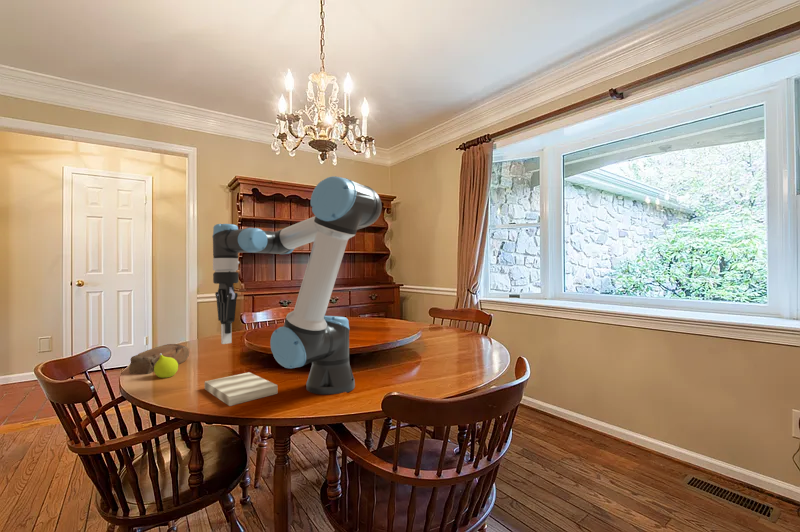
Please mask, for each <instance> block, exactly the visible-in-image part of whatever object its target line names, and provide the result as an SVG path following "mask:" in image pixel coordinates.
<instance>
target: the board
mask: <svg viewBox="0 0 800 532" xmlns="http://www.w3.org/2000/svg"><path fill="white" fill-rule="evenodd" d="M278 389H279V388H278V384H276V383H274V382H272V381H269V380H268V379H265V378H263V377H261V376H259V375H256V374H254V373H252V372H250V371H248V372H244V373H239V374H234V375H230V376H224V377H219V378H215V379H211V380H205V381H204V390H206V392H208V393H209V394H211V395H212V396H214V397H215V398H217V399H218V400H220V401H221V402H223V403H224V404H226V405H227V406H229V407H232V406H235V405H239V404H240V405H241V404H243V403H247V402H250V401H254V400H257V399H263V398H265V397H271V396H274V395H277V394H278Z"/></svg>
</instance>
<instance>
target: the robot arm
mask: <svg viewBox="0 0 800 532" xmlns="http://www.w3.org/2000/svg"><path fill="white" fill-rule="evenodd" d="M310 206H311V207H312V208H311V212H312V214H314V216H312V217H310V218H307V219H305V220H301V221H298V222H297V223H295V224H294V223H293V224H292V225H290V226H287V227H284V228H282V229H279V230H275V231H271V230H262V229H261V228H258V227H247V228H241V229H239V226H238V225H236V224H233V223H217V224H214V226H213V227H212V229H213V230H212V231H213V232H212V255H213V256H212V270H213V271H214V272H213V273H212V277H213V279H212V282H213V284H216V285H217V284H218V289H217V291H216V292H215V294H214V295H215V298H216V307H217V308H216V309H217V320H218V321H219V322H220V324H221V325H220V327H221V328H220V331H221V333H220V337H221V338H220V340H221V343H220V344H221V345H226V344H227V345H228V344H232V339H233V338H232V324H233V323H235V321H236V320H235V319H236V306H237V299H238V293H237V292H235V288H234V284H238V283H239V272H238V270H239V264H240V261H239V253H250V254H251V253H252V254H272V255H273V254H274V255H276V254H277V255H278V254H279V255H289V254H292V253H293V251H294V250H295V249H296V248H299V247H303V246H305V245H307V244H310V243H313V244H312V247H311V250H310V255H309V257H308V260H307V265H306V268H305V271H304V274H303V279H302V281H301V284H300V289H299V291H298V295H297V297H296V302H295V305H294V309H293V310H292V311H290V312H288V313H287V314H286V317H285V319H284V324H283V326H279V327H278V328H276V329H275V330H274V331H273V332H272V334H271V337H270V340H269V341H270V342H269V343H270V345H269V346H270V350H271V353H272V355H273V356H272V357H274V359H275V361H276V362H277V363H278V364H279V365H280V366H281V367H284V368H285V369H295V368H301V367H304V366H306V365H308V364H311V367H310V371H309V373H308V376H307V377H308V378H307V381H306V383H305V385H306V388H305V389H306V391H308V393H311V394H316V395H325V396H326V395H337V394H342V393H350V392H351V391H354V389H355V387H356V382H355V377H354V374H353V370H352V367H351V365H350V324H349V323H350V321H349V319H348V317H345V316H339V315H338V316H336V315H326V314H327V309H328V307H329V302H330V299H331V296H332V293H333V290H334V287H335V283H336V280H337V278H338V277H337V276H338V274H339V271H340V267H341V264H342V260H343V259H344V258H343V257H344V255H345V251H346V248H347V245H348V241H349V240H350V239H351V238H353V237H355V236H356V235H357V232H358V230H360V229H364V228H367V227H369V226H371V225H373V224H374V223H376V222H377V221H378V220H379V217H380V216H381V213H382V210H383V209H382V207H383V205H382V199H381V198H380V195H379V194H378V193H377V192H376V190H375V189H373V188H371V187H369V186H367V185H364V184H361V183H358V182H356V181H354V180H351V179H349V178H346V177H342V176H341V177H340V176H333V175H331V176H328V177H326V178H324V179H323V180H321V181H320V182H318V184H316V185H315V186H314V189H313V191H312V193H311V196H310Z"/></svg>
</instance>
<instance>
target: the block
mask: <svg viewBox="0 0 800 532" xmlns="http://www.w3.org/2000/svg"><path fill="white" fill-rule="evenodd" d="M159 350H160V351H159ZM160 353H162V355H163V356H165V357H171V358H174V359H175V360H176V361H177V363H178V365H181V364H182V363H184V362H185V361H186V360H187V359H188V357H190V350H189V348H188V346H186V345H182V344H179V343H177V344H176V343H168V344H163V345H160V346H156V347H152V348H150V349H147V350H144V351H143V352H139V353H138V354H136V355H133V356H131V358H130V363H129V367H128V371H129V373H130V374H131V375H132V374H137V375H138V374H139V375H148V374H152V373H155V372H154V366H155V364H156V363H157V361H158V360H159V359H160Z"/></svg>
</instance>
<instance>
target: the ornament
mask: <svg viewBox="0 0 800 532" xmlns="http://www.w3.org/2000/svg"><path fill="white" fill-rule="evenodd" d="M159 351H160V350H159ZM178 370H179V364H178V363H177V361H176V360H175V359H174V358H171V357H165V356H163V355H162V353H160V359H159V360H158V361H157V363H156V364H155V366H154V372H153V373H154V374H155V376H156V377H158V378H159V379H167V378H171V377H173V376H175V375H176V373H177V372H178Z"/></svg>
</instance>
